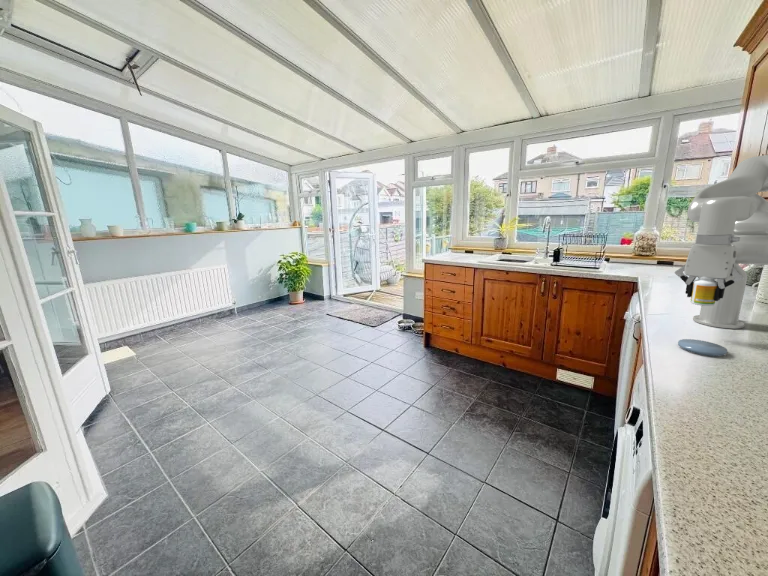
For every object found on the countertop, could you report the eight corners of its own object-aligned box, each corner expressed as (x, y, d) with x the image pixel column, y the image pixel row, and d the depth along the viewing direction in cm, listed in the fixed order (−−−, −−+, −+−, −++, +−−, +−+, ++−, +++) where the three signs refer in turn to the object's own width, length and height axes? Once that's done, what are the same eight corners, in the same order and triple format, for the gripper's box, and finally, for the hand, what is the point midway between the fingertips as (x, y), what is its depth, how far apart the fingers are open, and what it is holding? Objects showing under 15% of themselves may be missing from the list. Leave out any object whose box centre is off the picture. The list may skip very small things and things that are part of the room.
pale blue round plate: (684, 341, 97) (684, 336, 96) (730, 351, 88) (731, 346, 88) (672, 348, 92) (673, 344, 91) (720, 360, 83) (721, 355, 83)
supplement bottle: (719, 306, 94) (725, 275, 92) (698, 306, 95) (704, 275, 93) (705, 301, 99) (710, 272, 97) (685, 301, 100) (690, 272, 98)
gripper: (760, 240, 87) (747, 301, 91) (680, 238, 101) (671, 291, 106) (754, 242, 83) (740, 306, 87) (671, 240, 98) (663, 295, 102)
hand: (703, 297), depth 96 cm, fingers closed on supplement bottle, 5 cm apart
